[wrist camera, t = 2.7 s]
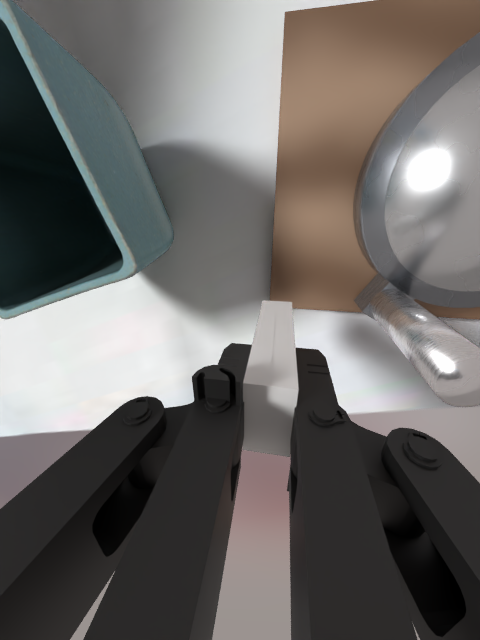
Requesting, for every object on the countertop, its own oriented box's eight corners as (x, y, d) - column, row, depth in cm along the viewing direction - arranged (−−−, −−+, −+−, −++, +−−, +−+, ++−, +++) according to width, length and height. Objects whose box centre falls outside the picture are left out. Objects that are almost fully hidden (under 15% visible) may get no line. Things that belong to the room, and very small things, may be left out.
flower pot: (205, 243, 18) (139, 274, 10) (112, 276, 20) (-3, 323, 12) (152, 99, 14) (-13, -35, 6) (49, 159, 17) (-163, 117, 9)
